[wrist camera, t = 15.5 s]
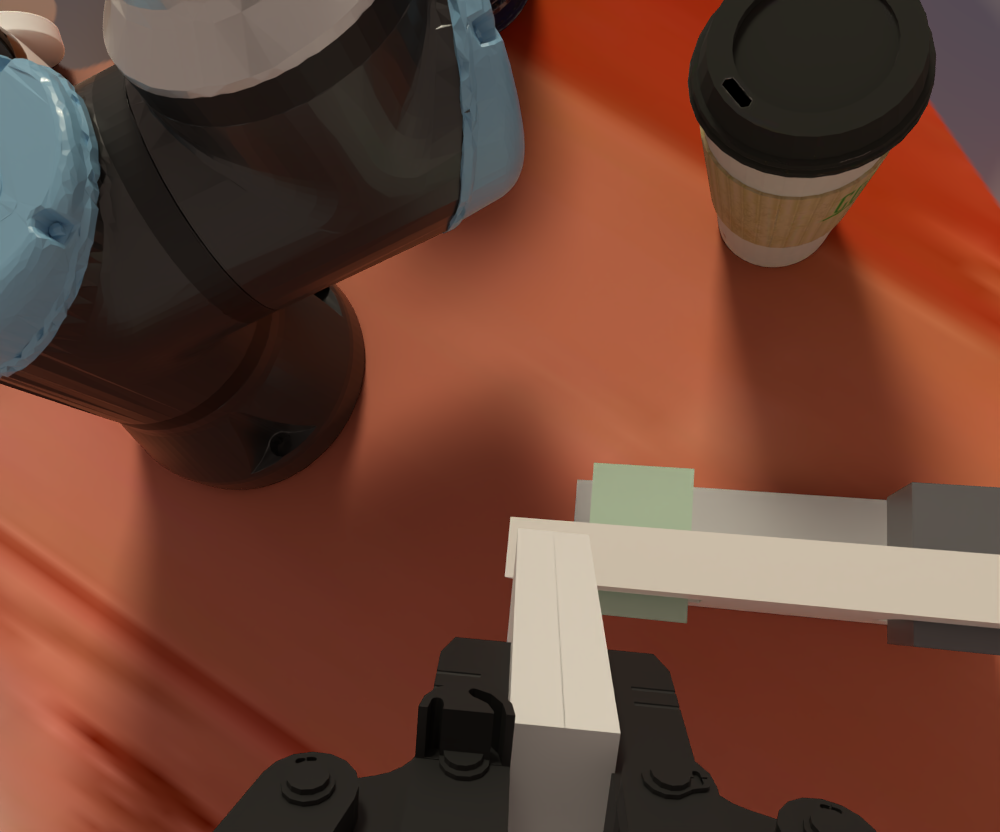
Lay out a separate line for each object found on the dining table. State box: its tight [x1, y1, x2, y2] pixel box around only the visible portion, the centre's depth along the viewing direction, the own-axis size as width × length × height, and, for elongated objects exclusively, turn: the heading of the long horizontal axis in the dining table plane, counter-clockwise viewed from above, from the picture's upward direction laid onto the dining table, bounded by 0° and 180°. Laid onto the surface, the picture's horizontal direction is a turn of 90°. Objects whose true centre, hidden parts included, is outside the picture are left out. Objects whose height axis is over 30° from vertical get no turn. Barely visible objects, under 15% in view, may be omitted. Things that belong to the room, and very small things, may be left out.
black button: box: [887, 482, 1000, 655], centre depth 32 cm, size 4×6×4 cm, turn 174°
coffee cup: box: [688, 0, 936, 267], centre depth 40 cm, size 10×10×15 cm
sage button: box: [590, 463, 694, 623], centre depth 35 cm, size 4×6×4 cm, turn 174°
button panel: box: [505, 480, 1000, 629], centre depth 34 cm, size 20×6×18 cm, turn 84°
